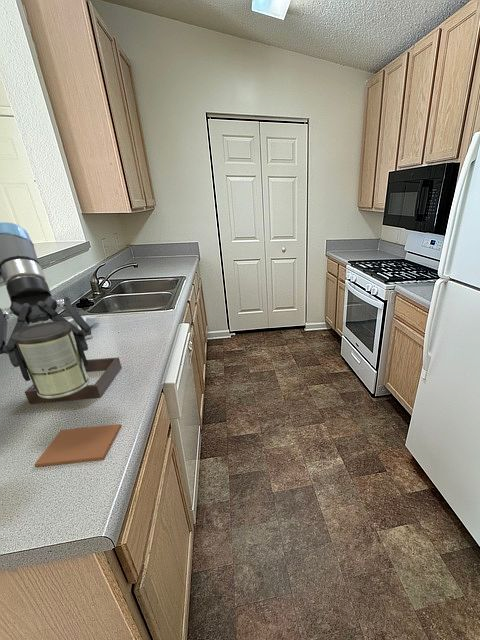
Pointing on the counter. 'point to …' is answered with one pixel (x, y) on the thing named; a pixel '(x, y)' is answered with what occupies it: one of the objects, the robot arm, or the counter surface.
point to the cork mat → (79, 445)
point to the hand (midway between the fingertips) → (57, 370)
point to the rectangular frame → (89, 391)
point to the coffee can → (52, 358)
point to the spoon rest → (88, 319)
